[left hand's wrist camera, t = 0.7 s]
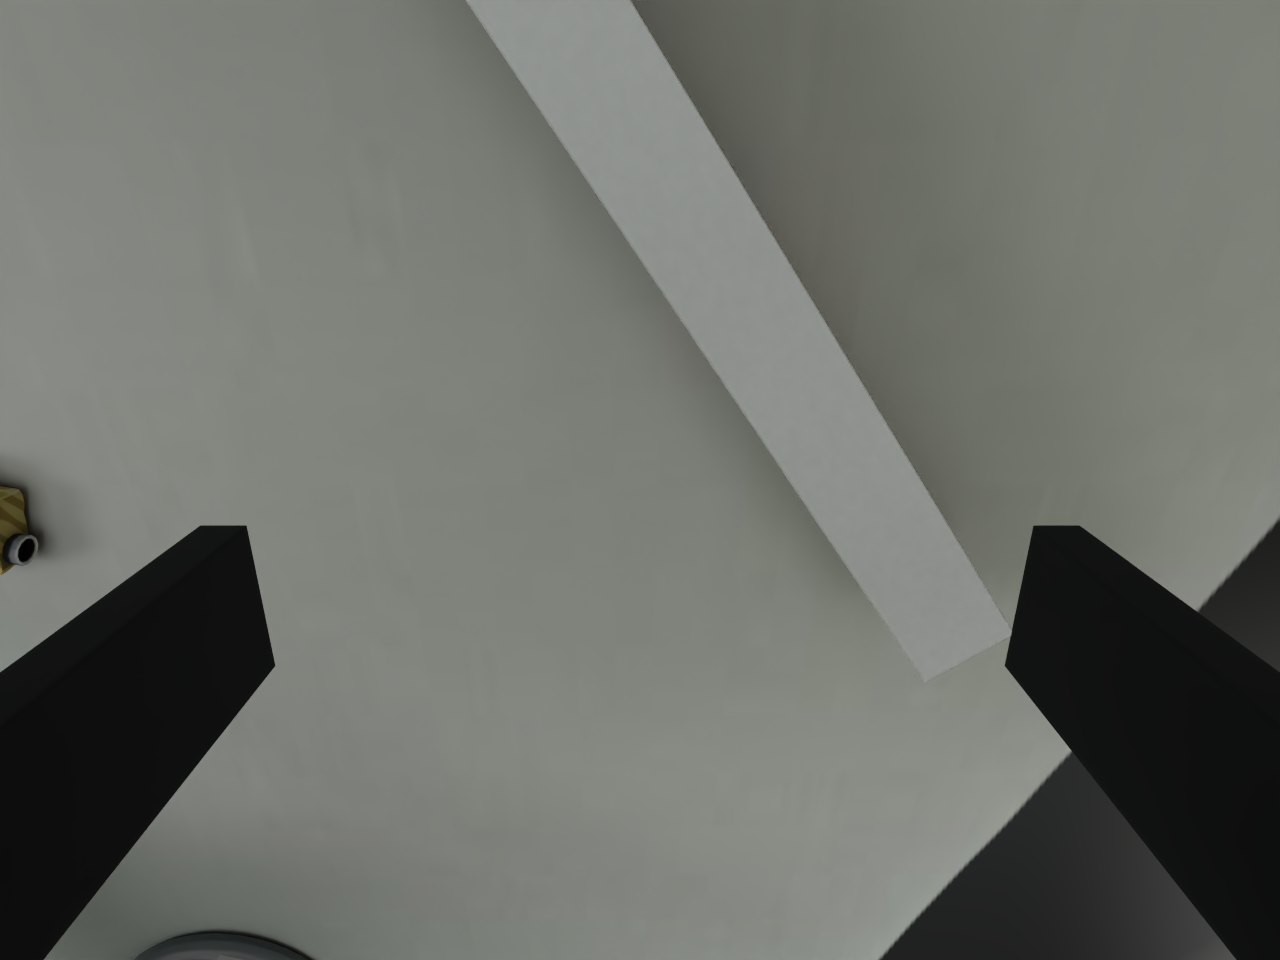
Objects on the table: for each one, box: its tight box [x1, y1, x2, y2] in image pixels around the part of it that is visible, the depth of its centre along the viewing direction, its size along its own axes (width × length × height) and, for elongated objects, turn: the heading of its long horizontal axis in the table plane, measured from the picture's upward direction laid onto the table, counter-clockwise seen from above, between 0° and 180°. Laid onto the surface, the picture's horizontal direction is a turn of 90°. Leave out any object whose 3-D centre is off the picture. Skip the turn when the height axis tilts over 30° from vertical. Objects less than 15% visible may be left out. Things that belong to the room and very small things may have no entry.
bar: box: [466, 0, 1012, 682], centre depth 26 cm, size 58×4×8 cm, turn 35°
